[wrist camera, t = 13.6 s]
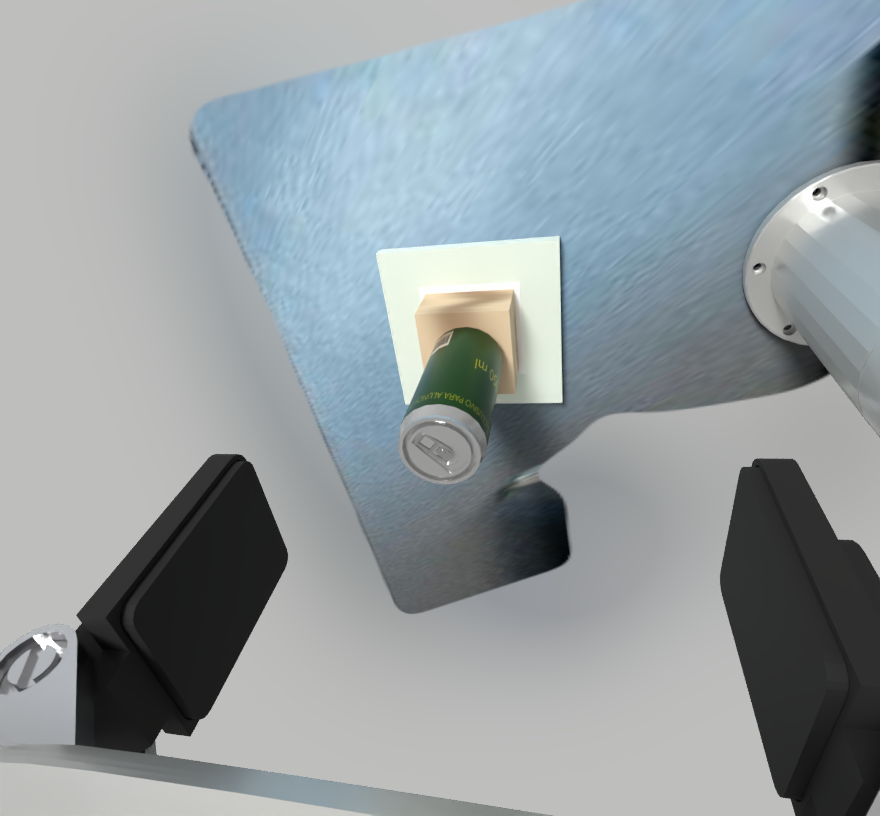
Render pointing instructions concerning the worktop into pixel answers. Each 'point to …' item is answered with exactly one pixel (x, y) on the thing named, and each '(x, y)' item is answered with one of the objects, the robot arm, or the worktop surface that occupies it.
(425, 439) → the beer can
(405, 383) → the board
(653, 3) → the worktop surface
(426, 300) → the oak block
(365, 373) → the worktop surface
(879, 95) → the worktop surface
